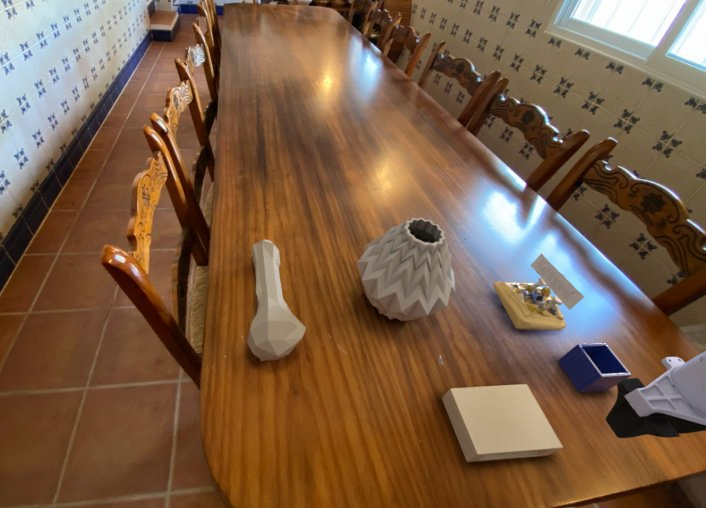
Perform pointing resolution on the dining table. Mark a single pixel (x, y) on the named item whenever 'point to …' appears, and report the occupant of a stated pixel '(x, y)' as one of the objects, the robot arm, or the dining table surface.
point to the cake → (538, 298)
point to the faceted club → (271, 308)
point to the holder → (593, 367)
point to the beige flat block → (499, 423)
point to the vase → (408, 270)
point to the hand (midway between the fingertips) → (642, 426)
